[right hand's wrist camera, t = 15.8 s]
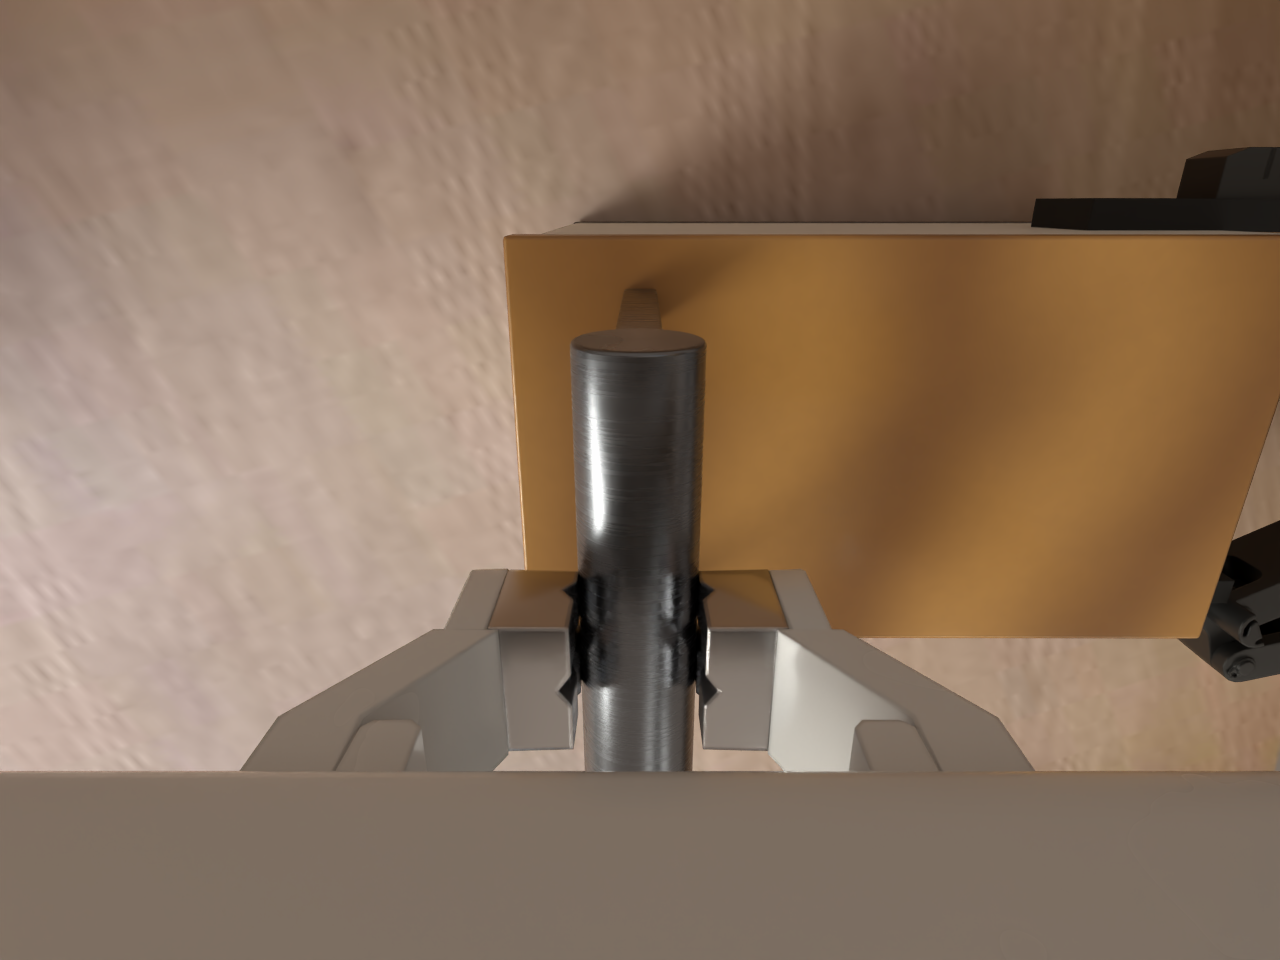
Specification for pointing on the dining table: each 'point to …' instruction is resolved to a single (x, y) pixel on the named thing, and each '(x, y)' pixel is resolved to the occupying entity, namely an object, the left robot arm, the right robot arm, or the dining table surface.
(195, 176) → the dining table surface
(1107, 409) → the lid
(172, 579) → the dining table surface
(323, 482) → the dining table surface
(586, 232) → the chest
